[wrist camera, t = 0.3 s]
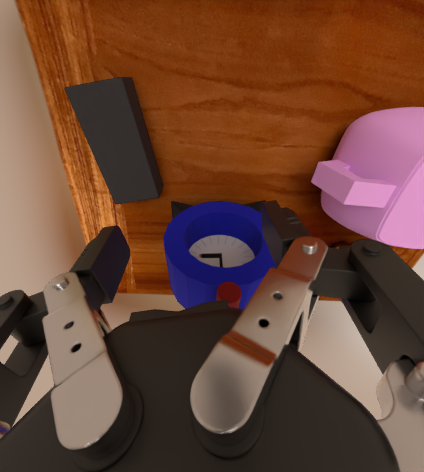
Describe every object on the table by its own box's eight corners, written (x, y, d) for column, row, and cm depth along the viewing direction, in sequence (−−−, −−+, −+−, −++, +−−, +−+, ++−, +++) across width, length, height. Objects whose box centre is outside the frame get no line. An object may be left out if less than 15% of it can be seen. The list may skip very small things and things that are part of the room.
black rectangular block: (81, 86, 22) (63, 87, 19) (132, 77, 21) (121, 76, 19) (123, 192, 28) (115, 204, 25) (163, 185, 28) (159, 197, 25)
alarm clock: (266, 195, 29) (315, 281, 17) (253, 266, 36) (282, 364, 24) (170, 195, 28) (148, 283, 16) (177, 267, 35) (164, 368, 23)
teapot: (279, 204, 30) (322, 271, 19) (311, 94, 23) (406, 105, 12) (417, 214, 32) (524, 280, 21) (486, 114, 25) (697, 139, 14)
